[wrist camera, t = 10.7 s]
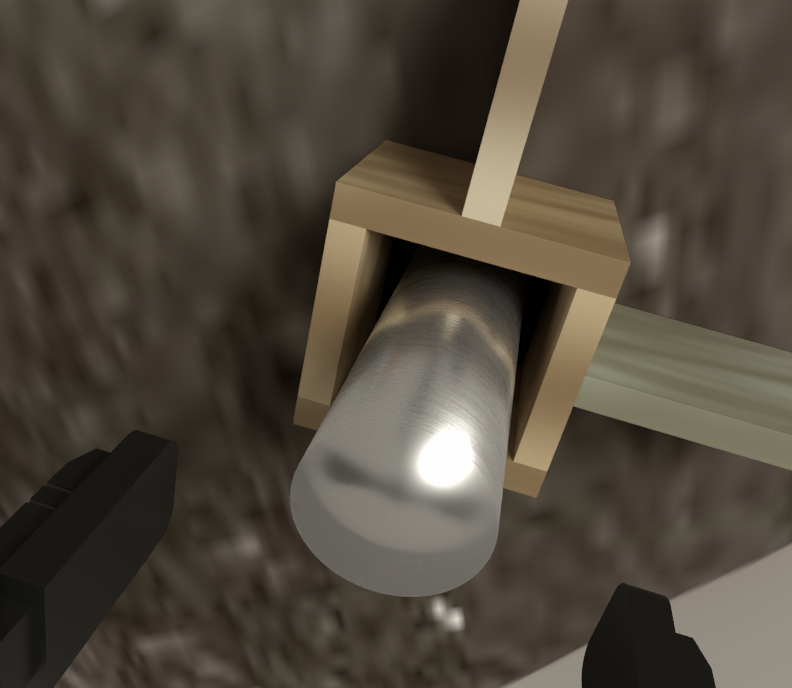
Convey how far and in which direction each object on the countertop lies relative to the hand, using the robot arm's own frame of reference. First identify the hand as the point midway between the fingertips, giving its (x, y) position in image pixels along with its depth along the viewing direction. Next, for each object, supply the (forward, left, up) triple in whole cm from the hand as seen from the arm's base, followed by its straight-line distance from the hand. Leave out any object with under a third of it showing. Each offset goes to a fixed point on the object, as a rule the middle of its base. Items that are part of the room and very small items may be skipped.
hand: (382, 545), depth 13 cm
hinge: (-4, +4, -14) cm, 15 cm away
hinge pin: (0, 0, -14) cm, 14 cm away
